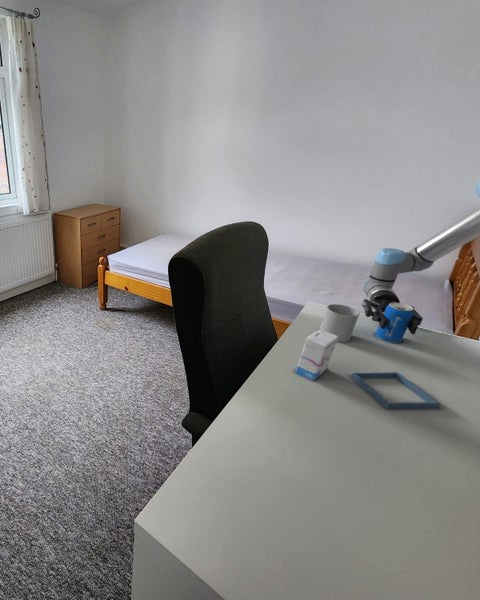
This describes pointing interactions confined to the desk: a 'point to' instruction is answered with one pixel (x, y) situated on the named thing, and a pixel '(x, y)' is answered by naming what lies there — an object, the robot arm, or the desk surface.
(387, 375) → the rectangular frame
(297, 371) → the ink box
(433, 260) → the robot arm
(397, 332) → the beverage can
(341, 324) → the cup
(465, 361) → the desk surface
